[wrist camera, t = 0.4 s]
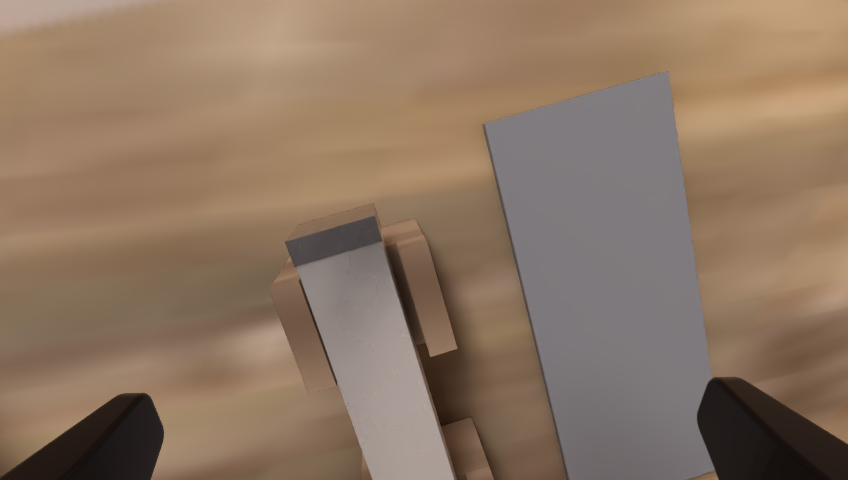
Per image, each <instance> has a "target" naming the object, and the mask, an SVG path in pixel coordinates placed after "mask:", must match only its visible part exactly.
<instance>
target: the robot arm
mask: <svg viewBox="0 0 848 480" xmlns="http://www.w3.org/2000/svg"><path fill="white" fill-rule="evenodd" d="M697 424H698V428H699V431H700V433H701V436H702V438H703V441H704V443H705V446H706V448H707V451H708V453H709V456H710V458H711V461H712V463H713V466H714V468H715V471H716V473H717V476H718V479H719V480H848V444H847V443H845V442H843V441H842V440H840V439H839V438H837V437H835V436H834V435H832V434H831V433H829V432H827V431H826V430H824V429H822V428H821V427H819V426H818V425H816V424H814V423H813V422H811V421H810V420H808V419H806V418H805V417H803V416H801V415H800V414H798V413H797V412H795V411H793V410H792V409H790V408H789V407H787V406H785V405H784V404H782V403H780V402H779V401H777V400H776V399H774V398H772V397H771V396H769V395H768V394H766V393H764V392H763V391H761V390H760V389H758V388H756V387H755V386H753V385H751V384H750V383H748V382H747V381H745V380H743V379H741V378H738V377H715V378H712V379H711V380H710V381H708V383H707V386H706V389H705V392H704V394H703V397H702V400H701V403H700V406H699V409H698V412H697ZM163 438H164V429H163V425H162V423H161V420H160V418H159V416H158V413H157V411H156V408H155V406H154V403H153V401H152V399H151V397H150V396H149V395H148V394H146V393H124V394H120V395H118V396H116V397H114V398H113V399H111V400H110V401H108V402H107V403H106V404H104V405H103V406H101V407H100V408H98V409H97V410H96V411H94V412H93V413H91V414H90V415H89V416H87V417H86V418H84V419H83V420H81V421H80V422H79V423H77V424H76V425H74V426H73V427H71V428H70V429H69V430H67V431H66V432H64V433H63V434H62V435H60V436H59V437H57V438H56V439H54V440H53V441H52V442H50V443H49V444H47V445H46V446H44V447H43V448H42V449H40V450H39V451H37V452H36V453H34V454H33V455H32V456H30V457H29V458H27V459H26V460H25V461H23V462H22V463H20V464H19V465H17V466H16V467H15V468H13V469H12V470H10V471H9V472H7V473H6V474H5V475H3V476H2V477H0V480H151V477H152V474H153V471H154V468H155V465H156V462H157V458H158V455H159V452H160V449H161V446H162V443H163Z"/></svg>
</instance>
